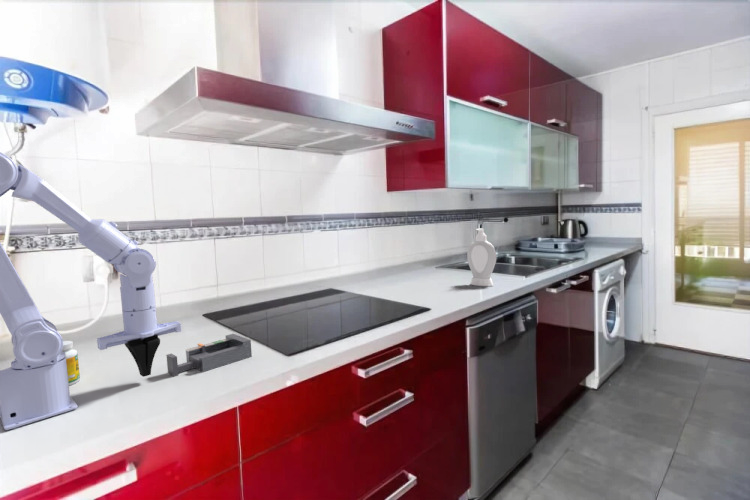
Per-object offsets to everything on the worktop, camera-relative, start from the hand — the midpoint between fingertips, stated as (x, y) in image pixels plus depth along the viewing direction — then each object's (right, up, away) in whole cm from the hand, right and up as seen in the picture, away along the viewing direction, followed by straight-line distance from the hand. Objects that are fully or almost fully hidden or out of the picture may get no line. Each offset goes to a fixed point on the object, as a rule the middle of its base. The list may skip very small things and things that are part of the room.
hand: (145, 374), depth 80 cm
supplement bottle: (-17, -2, +1) cm, 17 cm away
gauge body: (+10, 0, +11) cm, 16 cm away
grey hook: (+5, -1, +7) cm, 9 cm away
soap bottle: (+91, +10, +90) cm, 128 cm away
